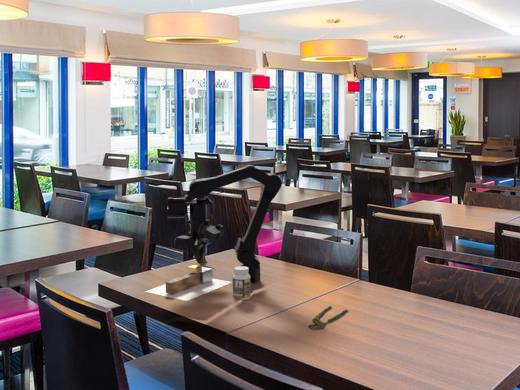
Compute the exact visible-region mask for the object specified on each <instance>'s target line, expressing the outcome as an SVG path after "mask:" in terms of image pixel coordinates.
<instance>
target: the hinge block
mask: <svg viewBox="0 0 520 390" xmlns="http://www.w3.org/2000/svg"><path fill="white" fill-rule="evenodd" d="M199 277H200V284H206V283H209V282H211V281H212V278H213V268H210V267H205V266H202V272H200V273H199Z"/></svg>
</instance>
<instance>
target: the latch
mask: <svg viewBox="0 0 520 390" xmlns="http://www.w3.org/2000/svg"><path fill="white" fill-rule="evenodd" d="M202 267H203V266H201V265H197V264H192V265H190V266H189V265H188V267H187V270H188V271H187V272H188V273H189V274H190V273H196V274H197V273H200V272H202Z"/></svg>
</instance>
